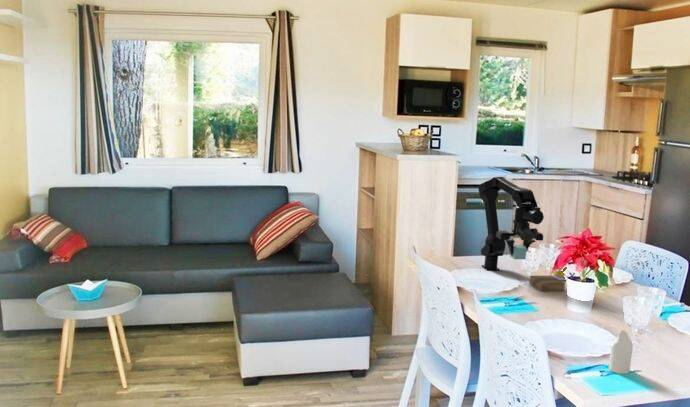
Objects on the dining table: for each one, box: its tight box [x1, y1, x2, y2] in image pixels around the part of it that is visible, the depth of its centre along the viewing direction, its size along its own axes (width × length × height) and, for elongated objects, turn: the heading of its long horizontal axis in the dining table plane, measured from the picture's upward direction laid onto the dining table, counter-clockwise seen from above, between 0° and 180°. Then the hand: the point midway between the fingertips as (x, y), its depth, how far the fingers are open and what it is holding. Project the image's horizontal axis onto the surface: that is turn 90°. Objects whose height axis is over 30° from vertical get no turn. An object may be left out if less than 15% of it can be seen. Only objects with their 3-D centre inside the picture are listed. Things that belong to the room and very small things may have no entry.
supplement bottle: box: [552, 267, 567, 281], centre depth 270 cm, size 7×7×13 cm
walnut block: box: [529, 274, 566, 293], centre depth 256 cm, size 10×10×4 cm
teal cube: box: [509, 244, 528, 260], centre depth 262 cm, size 5×5×5 cm
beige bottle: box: [608, 329, 634, 375], centre depth 179 cm, size 6×12×6 cm
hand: (517, 255), depth 262 cm, fingers closed on teal cube, 5 cm apart
